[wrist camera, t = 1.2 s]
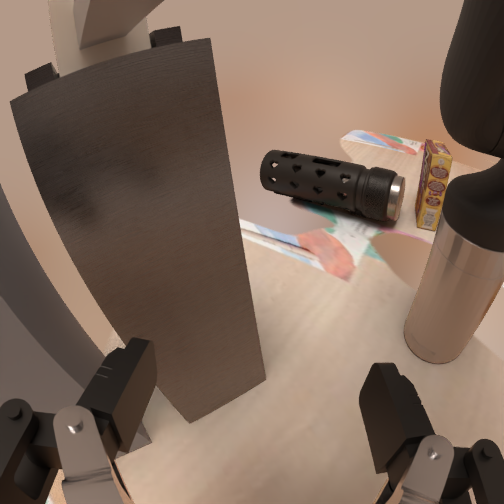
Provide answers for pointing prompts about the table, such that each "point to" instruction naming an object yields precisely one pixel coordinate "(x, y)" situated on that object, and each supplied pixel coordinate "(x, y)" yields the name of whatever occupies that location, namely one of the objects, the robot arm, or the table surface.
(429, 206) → the candy box
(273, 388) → the table surface
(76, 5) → the plug
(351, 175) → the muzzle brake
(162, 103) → the stand
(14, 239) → the tall grey square pillar
